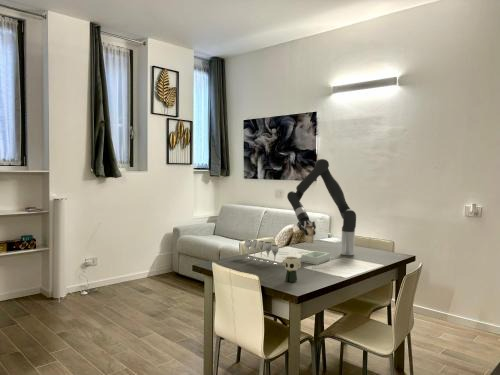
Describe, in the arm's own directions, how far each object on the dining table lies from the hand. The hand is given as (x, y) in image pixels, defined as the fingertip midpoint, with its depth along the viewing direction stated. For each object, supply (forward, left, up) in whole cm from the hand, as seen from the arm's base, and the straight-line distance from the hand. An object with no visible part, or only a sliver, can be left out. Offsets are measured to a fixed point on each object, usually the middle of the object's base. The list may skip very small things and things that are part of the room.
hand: (310, 234), depth 269 cm
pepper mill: (-1, -2, -6) cm, 6 cm away
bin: (-1, +3, -18) cm, 18 cm away
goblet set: (+24, -25, -18) cm, 39 cm away
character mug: (+53, +16, -18) cm, 58 cm away
